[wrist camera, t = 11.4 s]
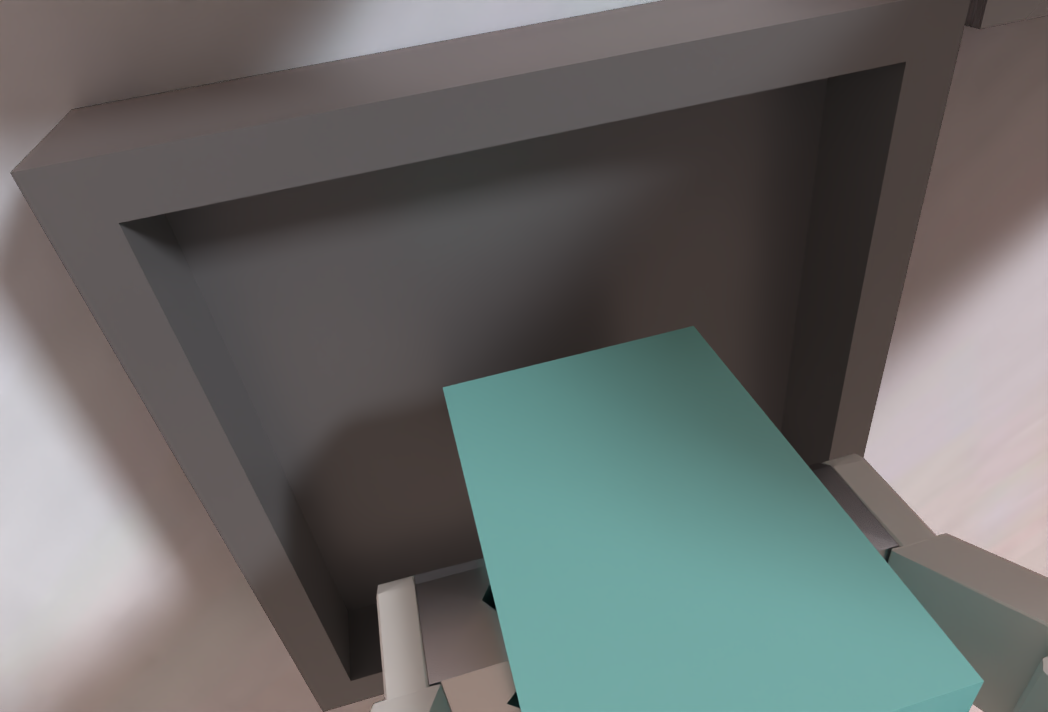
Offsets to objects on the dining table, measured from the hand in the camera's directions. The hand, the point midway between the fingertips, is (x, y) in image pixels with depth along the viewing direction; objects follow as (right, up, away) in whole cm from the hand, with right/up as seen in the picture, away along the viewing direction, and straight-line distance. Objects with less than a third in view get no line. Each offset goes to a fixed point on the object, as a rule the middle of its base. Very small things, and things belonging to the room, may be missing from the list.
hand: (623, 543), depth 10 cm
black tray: (-1, +3, +4) cm, 5 cm away
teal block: (0, +1, +2) cm, 2 cm away
